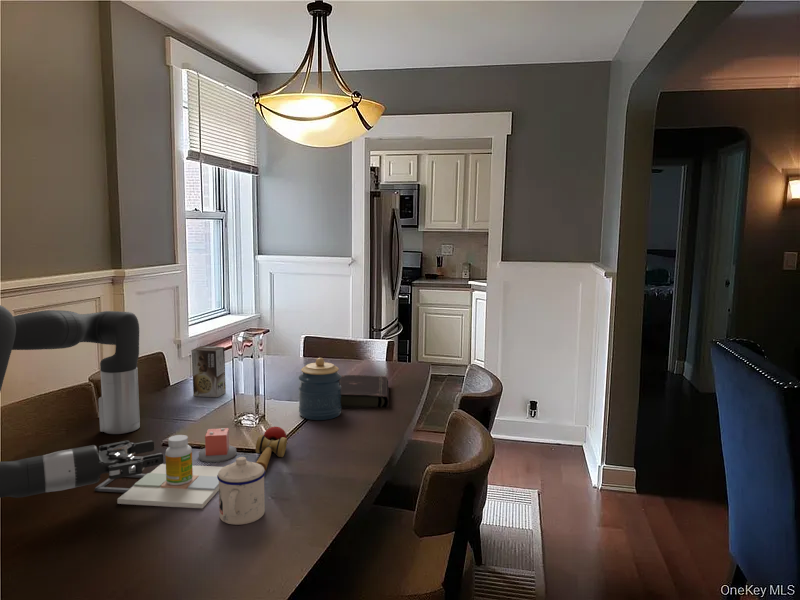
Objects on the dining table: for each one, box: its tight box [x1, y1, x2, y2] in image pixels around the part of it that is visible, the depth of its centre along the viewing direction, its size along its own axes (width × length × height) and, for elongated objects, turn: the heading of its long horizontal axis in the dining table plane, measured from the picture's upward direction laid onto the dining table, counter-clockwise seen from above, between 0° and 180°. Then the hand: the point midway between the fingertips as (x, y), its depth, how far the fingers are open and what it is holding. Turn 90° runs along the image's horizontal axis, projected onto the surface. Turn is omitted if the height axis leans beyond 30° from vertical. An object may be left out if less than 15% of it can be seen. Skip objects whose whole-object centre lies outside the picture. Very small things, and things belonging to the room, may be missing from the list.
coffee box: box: [191, 345, 227, 398], centre depth 196 cm, size 9×6×16 cm
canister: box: [298, 357, 342, 421], centre depth 176 cm, size 13×13×18 cm
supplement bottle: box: [164, 434, 193, 485], centre depth 125 cm, size 5×5×10 cm
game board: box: [94, 463, 224, 509], centre depth 127 cm, size 26×18×1 cm
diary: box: [340, 374, 390, 409], centre depth 196 cm, size 19×25×5 cm
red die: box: [198, 427, 237, 463], centre depth 144 cm, size 9×9×6 cm
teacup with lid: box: [217, 456, 266, 526], centre depth 112 cm, size 12×9×12 cm
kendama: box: [255, 426, 288, 472], centre depth 142 cm, size 8×6×18 cm
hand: (158, 451), depth 123 cm, fingers open, 8 cm apart
